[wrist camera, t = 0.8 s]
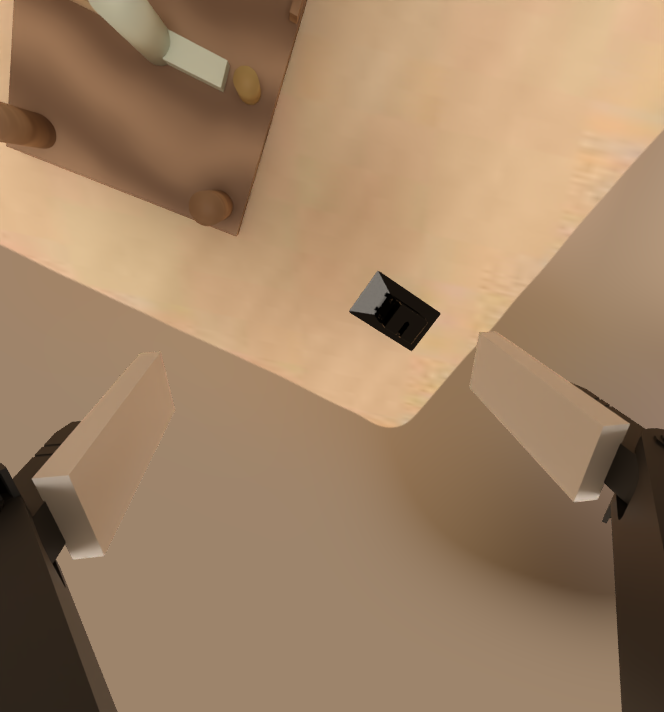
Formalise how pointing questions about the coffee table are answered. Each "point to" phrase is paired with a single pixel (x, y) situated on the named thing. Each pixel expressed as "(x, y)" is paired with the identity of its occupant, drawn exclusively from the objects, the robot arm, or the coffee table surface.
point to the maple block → (84, 4)
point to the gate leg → (162, 41)
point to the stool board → (151, 101)
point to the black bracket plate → (394, 311)
